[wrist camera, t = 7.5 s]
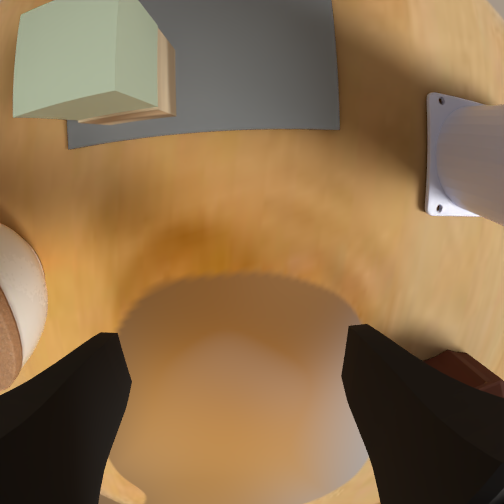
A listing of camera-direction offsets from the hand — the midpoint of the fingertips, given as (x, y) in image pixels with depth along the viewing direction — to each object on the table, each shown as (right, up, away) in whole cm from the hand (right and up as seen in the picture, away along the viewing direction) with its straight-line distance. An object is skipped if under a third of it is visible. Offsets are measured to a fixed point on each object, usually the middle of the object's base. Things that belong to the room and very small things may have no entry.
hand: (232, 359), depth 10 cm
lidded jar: (-17, +2, +10) cm, 20 cm away
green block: (-5, +11, +2) cm, 13 cm away
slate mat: (-3, +16, +6) cm, 17 cm away
